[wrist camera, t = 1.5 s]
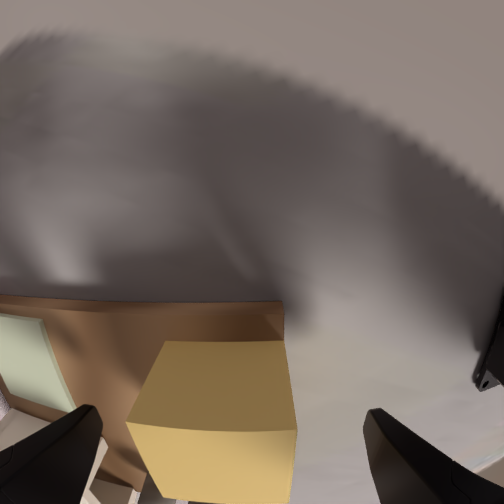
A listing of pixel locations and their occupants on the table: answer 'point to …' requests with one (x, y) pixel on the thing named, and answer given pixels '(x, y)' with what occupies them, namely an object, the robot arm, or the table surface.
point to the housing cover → (96, 491)
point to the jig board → (129, 361)
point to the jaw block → (218, 422)
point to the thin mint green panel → (31, 363)
